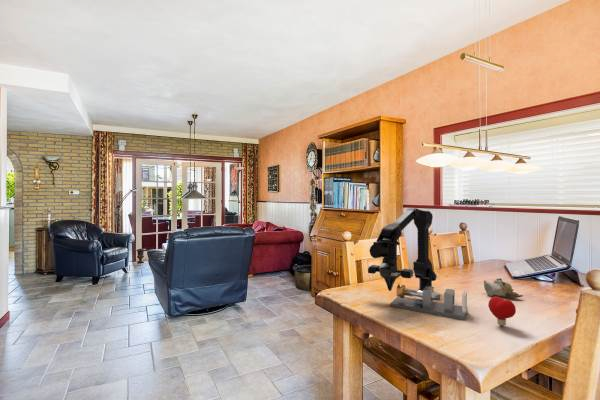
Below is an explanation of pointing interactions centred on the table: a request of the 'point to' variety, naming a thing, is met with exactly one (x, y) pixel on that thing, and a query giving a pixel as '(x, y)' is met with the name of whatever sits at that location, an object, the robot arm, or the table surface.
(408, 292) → the shaft
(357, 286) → the table surface
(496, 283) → the ceramic sculpture
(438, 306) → the bearing frame
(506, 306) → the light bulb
